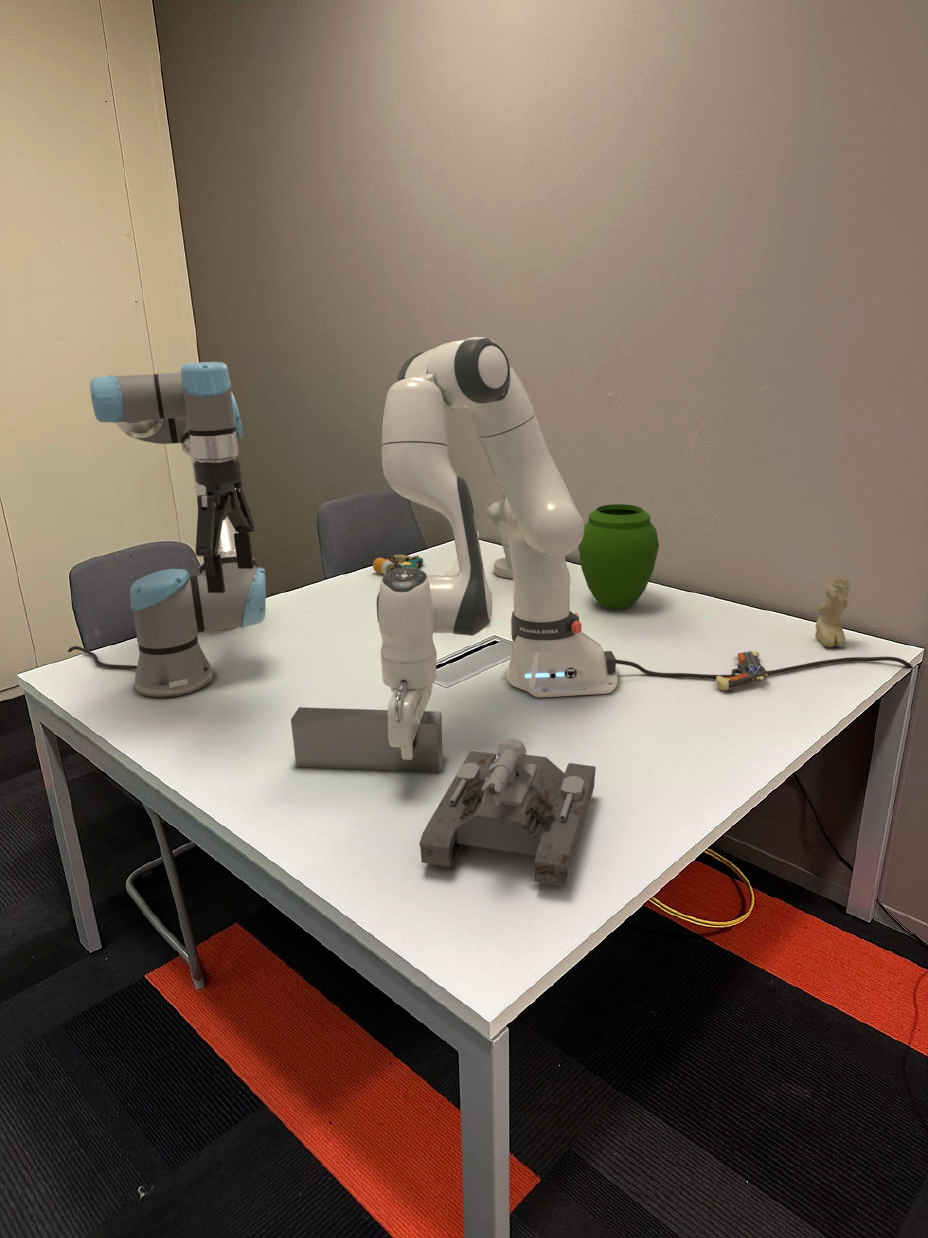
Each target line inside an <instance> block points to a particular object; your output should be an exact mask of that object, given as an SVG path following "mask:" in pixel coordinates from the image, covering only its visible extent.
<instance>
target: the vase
mask: <svg viewBox="0 0 928 1238" xmlns="http://www.w3.org/2000/svg"><path fill="white" fill-rule="evenodd" d="M587 516H588V517H587V518H588V521H587V522H586V523H585V524H584V535H583V539H582V541H581V543H580V544H579V546H578V547H577V548H578V554H579V562H580V569H581V571H582V574H583V577H584V580H585V583H586V585H587V588H588V590H589V591H590V594H592V597H593V598H594V600H595V601H596V602H597V603H598V604H599V605H600V606H602V607H604V608H606V609H609V610H625V609H628V608H630V607H632V606H634V604H636V602H638V601H639V599H640V597H641V596H642V595H643V593H644V592H645V590H646V588H647V586H648V584H649V581H650V579H651V577H652V574H653V572H654V570H655V566H656V562H657V557H658V552H659V548H660V544H659V543H660V542H659V537H658V531H657V528H656V527H655V526H654V524H653V523H652V522H651V515H650V514H649V512H647V511H645V510H644V509H643V508H642V507H641V506H638V505H633V504H622V503H621V504H619V503H616V504H615V503H614V504H604V505H601V506H598V507H597V508H595V509H594V510H592V511H591V512H590V513H589V514H588V515H587Z"/></svg>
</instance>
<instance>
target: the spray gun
mask: <svg viewBox="0 0 928 1238" xmlns="http://www.w3.org/2000/svg"><path fill="white" fill-rule="evenodd" d="M423 563H424V558H423V557H421V556H419V555H418V554H417V555H413V556H410V555H406V554H401V553H400V554H387V555H385V556H384V558H383V557H377V558H375V559H374V561H373V562H372V570H374V572H375V573H379V574H381V575H385V574H386V573H387V572H389V571H391V570H393V569H397V568H402V567H412V568H417V569H418V568H419V566H422V565H423Z"/></svg>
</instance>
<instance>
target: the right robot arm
mask: <svg viewBox="0 0 928 1238" xmlns="http://www.w3.org/2000/svg"><path fill="white" fill-rule="evenodd" d="M385 398H386V399H385V403H384V409H383V410H384V411H383V417H382V426H381V467H382V473H383V477H384V479H385V481H386V483H387V484H388V486H389V487H390V488H391V489H392V490H393V491H394V492H396V494H398V496H399V495H400V496H401V497H403V498H405V499H407V500H409V501H411V502H413V503H416V504H418V505H421V506H423V507H426V508H429V509H431V510H434V511H435V512H438V513H439V514H441V515H442V516H444V517H445V519H446V520H448V522H449V524H450V526H451V529H452V533H453V534H452V535H453V539H454V545H455V551H456V558H458V564H459V569H460V571H459V573H458V574H456V575H452V576H445V575H438V574H437V575H435V574H433V575H430V574H429V575H428V574H427V573H426V572H425V571H424V570H423V569H419V568H418V567H417V568H412V567H402V568H397V569H393V570H391V571H389V572H387V573H386V574H383V576H382V577H381V579H380V583H379V591H378V593H377V595H376V618H377V623H378V630H379V634H380V635H381V641H382V643H381V646H380V647H381V648H380V664H381V666H380V667H381V680H382V682H383V684H384V685H385V686H387V687H389V688H390V690H391V692H392V695H391V697H390V699H389V701H388V705H387V710H388V741H389V744H390V746H391V747H399V748H401V753H402V759H404V760H411V759H412V758H413V755H414V746H413V741H414V738H415V736H416V733H417V730H418V728H419V725H420V721H421V719H422V716H423V713H424V711H426V709H427V706H428V704H429V701H430V698H431V697H432V692H433V686H434V685H433V684H434V683H435V682H436V680H437V677H438V676H437V658H438V656H437V649H436V645H435V643H434V634H452V635H460V636H470V637H473V636H475V635H477V634H478V633H480V632H481V631H483V630H484V629H485V628H486V627H487V626H488V625H489V624H490V623H491V618H492V614H493V599H492V593H491V590H490V588H489V585H488V581H487V579H486V573H485V567H484V564H483V563H484V561H483V556H482V550H481V545H480V544H481V543H480V539H479V538H478V532H479V531H478V528H477V520H476V516H475V515H476V514H475V511H474V505H473V500H472V496H471V492H470V489H469V486H468V484H467V482H466V479H464V478H462V477H461V476H458V474H457V473H456V471H455V470H454V469H453V468H454V467H453V466H452V463H451V460H450V455H449V434H448V433H449V432H448V430H449V429H448V418H449V416H450V414H451V412H456V411H460V410H462V409H467V410H468V411H469V412H470V414H471V418H472V421H473V425H474V428H475V430H476V433H477V435H478V438H479V440H480V444H481V446H482V448H483V451H484V454H485V456H486V458H487V461H488V463H489V466H490V469H491V472H492V474H493V476H494V479H495V478H496V479H497V481H498V483H499V485H500V486H499V487H500V489H501V490H502V493H503V492H504V494H505V496H506V499H505V501H504V515H505V519H506V525H507V534H508V543H509V550H510V557H511V563H512V569H513V578H512V580H513V584H512V586H513V587H512V588H513V611H512V612H511V618H510V635H511V640H512V645H511V646H512V647H511V655H510V660H509V665H508V669H507V672H506V675H505V678H506V681H507V683H509V684H510V685H511V686H513V687H515V688H517V689H519V690H522V691H525V692H527V693H529V694H530V695H531V696H533V697H535V698H556V697H572V696H573V697H574V696H588V695H589V696H590V695H591V696H592V695H607V694H611V693H612V692H613V691H615V690H616V688H617V686H618V673H617V665H623V666H628V667H632V668H635V669H637V670H639V671H640V672H641V673H643V674H645V675H648V676H651V677H652V676H653V677H660V678H661V677H662V678H690V679H691V678H692V679H708V680H711V679H712V680H716V677H717V676H721V677H723V678H725V677H731V674H707V673H706V674H705V673H689V672H658V671H657V672H656V671H652V670H648V669H646V668H644V667H643V666H641V665H640V664H638V663H636V662H633V661H628V660H623V659H617V658H616V656H615V655H614V653H613V651H612V650H604V648H603V647H602V645H601V644H600V643H599V642H598V641H596V640H595V639H593V638H591V637H590V636H589V635H587V634H586V633H585V632H583V631H582V630H583V626H582V625H583V624H582V622H581V621H580V616H579V615H578V612H577V611H575V613H574V612H573V611H571V610H570V590H571V589H570V586H571V585H570V584H571V575H570V570H569V568H568V565H567V560H566V556H568V555H569V554H572V553H573V552H574V551H575V550H576V549H577V548H579V547H578V546H579V544H580V543H581V541H582V539H583V535H584V525H585V524H584V519H583V518H582V516H581V514H580V512H579V510H578V509H577V506H576V504H575V502H574V500H573V498H572V496H571V493H570V491H569V489H568V487H567V485H566V482H565V481H564V478H563V477H562V474H561V473H560V471H559V469H558V466H557V465H556V463H555V461H554V459H553V457H552V455H551V452H550V450H549V447H548V444H547V442H546V440H545V437H544V434H543V431H542V428H541V425H540V423H539V420H538V417H537V414H536V412H535V408H534V406H533V404H532V402H531V399H530V396H529V395H528V392H527V391H526V389H525V387H524V385H523V383H522V381H521V379H520V378H519V376H518V374H517V373H516V371H515V370H514V368H513V367H512V366H510V362H509V358H508V357H507V354H506V352H505V351H504V349H503V348H502V347H501V345H500V344H499V343H497V342H496V341H495V340H494V339H492V338H489V337H483V336H475V337H474V336H472V337H468V338H466V339H463V340H462V339H461V340H455V341H450V342H446V343H443V344H440V345H438V346H436V347H434V348H431V349H429V350H427V351H424V352H419V353H416V354H414V355H412V356H411V357H409V358H408V359H407V360H406V361H405V362H404V363H403V364H402V366H401V367H400V370H399V371H398V375H397V379H396V382H395V383H393V384H392V385H391V386H390V388H389V390H388V391H387V394H386V397H385ZM477 531H478V532H477ZM885 661H887V662H888V661H889V662H896V663H899V664H901V665H904V666H905V667H906V668H908V669H912V670H913V669H914V666H913V665H912V664H911V663H909V662H908V661H907V660H905V659H902V658H900V657H895V656H851V657H841V658H839V657H838V658H832V659H824V660H819V661H814V662H808V663H803V664H797V665H793V666H788V667H782V668H777V669H772V670H766V674H767V676H772V675H777V674H782V673H787V672H791V671H797V670H798V671H799V670H802V669H807V668H813V667H818V666H824V665H830V664H839V663H845V662H847V663H848V662H885ZM399 721H400V722H399Z"/></svg>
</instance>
